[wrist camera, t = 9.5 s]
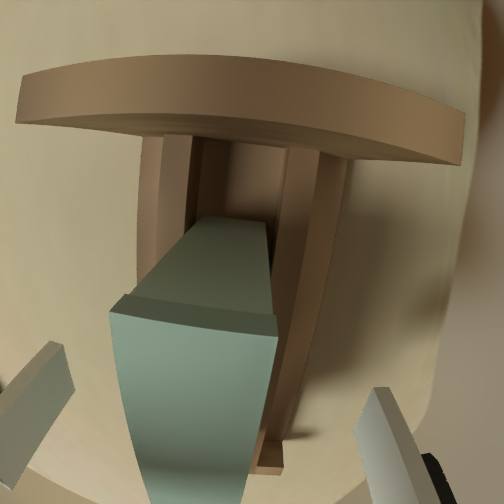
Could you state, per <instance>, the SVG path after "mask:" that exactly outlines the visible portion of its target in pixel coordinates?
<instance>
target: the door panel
mask: <svg viewBox="0 0 504 504" xmlns="http://www.w3.org/2000/svg"><path fill="white" fill-rule="evenodd" d="M109 317H110V326H111V334H112V342H113V349H114V356H115V363H116V369H117V375H118V381H119V386H120V391H121V396H122V401H123V406H124V411H125V415H126V420H127V424H128V428H129V432H130V436H131V440H132V444H133V448H134V451H135V455H136V458H137V462H138V465H139V469H140V472H141V475H142V478H143V481H144V484H145V487H146V490H147V493H148V496H149V499H150V502H151V504H240V503H241V499H242V496H243V492H244V488H245V484H246V480H247V476H248V472H249V468H250V464H251V460H252V456H253V452H254V448H255V443H256V439H257V435H258V431H259V426H260V422H261V417H262V413H263V409H264V404H265V399H266V395H267V390H268V386H269V381H270V376H271V371H272V366H273V362H274V357H275V352H276V347H277V342H278V328H277V318H276V315H273V307H272V294H271V282H270V271H269V259H268V248H267V236H266V225H265V222H258V221H250V220H242V219H234V218H225V217H216V216H207V215H203V216H202V217H201V218H200V219H199V220H198V221H197V222H196V223H195V224H194V225H193V226H192V227H191V228H190V229H189V230H188V231H187V232H186V234H185V235H184V236H183V237H182V238H181V239H180V240H179V241H178V242H177V243H176V244H175V245H174V246H173V247H172V248H171V249H170V250H169V251H168V252H167V253H166V255H165V256H164V257H163V258H162V259H161V260H160V261H159V262H158V263H157V264H156V265H155V266H154V267H153V269H152V270H151V271H150V272H149V273H148V274H147V275H146V276H145V277H144V278H143V279H142V281H141V282H140V283H139V284H138V285H137V286H136V287H135V288H134V289H133V291H132V292H131V293H130V294H124V296H123V297H122V298H121V299H120V300H119V301H118V302H117V303H116V304H115V305H114V307H113V308H112V309H111V310H110V311H109Z"/></svg>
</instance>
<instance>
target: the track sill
mask: <svg viewBox="0 0 504 504" xmlns="http://www.w3.org/2000/svg"><path fill="white" fill-rule="evenodd" d="M15 123H20V124H37V125H51V126H63V127H73V128H83V129H92V130H100V131H108V132H115V133H122V134H129V135H136V136H142V137H143V142H142V152H141V164H140V177H139V192H138V214H137V285H138V284H139V283H140V282H141V281H142V279H143V278H144V277H145V276H146V275H147V274H148V273H149V272H150V271H151V270H152V269H153V267H154V266H155V265H156V264H157V263H158V262H159V261H160V260H161V259H162V258H163V257H164V256H165V255H166V253H167V252H168V251H169V250H170V249H171V248H172V247H173V246H174V245H175V244H176V243H177V242H178V241H179V240H180V239H181V238H182V237H183V236H184V235H185V234H186V232H187V231H188V230H189V229H190V228H191V227H192V226H193V225H194V224H195V223H196V222H197V221H198V220H199V219H200V218H201V217H202V216H203V215H207V216H216V217H225V218H234V219H242V220H250V221H258V222H265V225H266V236H267V248H268V259H269V271H270V282H271V294H272V307H273V315H276V318H277V328H278V342H277V347H276V352H275V357H274V362H273V366H272V371H271V376H270V381H269V386H268V390H267V395H266V399H265V404H264V409H263V413H262V417H261V422H260V426H259V431H258V435H257V439H256V443H255V448H254V452H253V456H252V460H251V464H250V468H249V472H248V474H259V475H281V473H282V471H283V468H284V464H283V447H282V441H283V438H284V435H285V432H286V429H287V426H288V423H289V420H290V417H291V413H292V410H293V407H294V404H295V400H296V397H297V394H298V390H299V387H300V383H301V380H302V376H303V373H304V369H305V366H306V362H307V358H308V355H309V351H310V347H311V343H312V339H313V335H314V331H315V327H316V323H317V319H318V315H319V311H320V307H321V302H322V298H323V294H324V289H325V285H326V280H327V275H328V271H329V266H330V261H331V256H332V251H333V246H334V241H335V236H336V230H337V225H338V219H339V213H340V208H341V202H342V195H343V189H344V183H345V176H346V169H347V162H348V159H364V160H390V161H408V162H423V163H435V164H446V165H456V166H461V158H462V149H463V138H464V124H465V113H463V112H461V111H459V110H457V109H454V108H452V107H450V106H447V105H445V104H442V103H440V102H437V101H435V100H432V99H429V98H427V97H424V96H421V95H419V94H416V93H413V92H410V91H407V90H404V89H401V88H398V87H395V86H392V85H388V84H385V83H382V82H378V81H375V80H371V79H368V78H364V77H360V76H356V75H352V74H348V73H344V72H339V71H335V70H330V69H325V68H320V67H315V66H309V65H304V64H298V63H291V62H285V61H277V60H269V59H261V58H251V57H239V56H223V55H150V56H135V57H124V58H114V59H106V60H98V61H91V62H84V63H78V64H73V65H67V66H62V67H57V68H53V69H48V70H44V71H39V72H35V73H31V74H28V75H24V76H23V77H22V82H21V87H20V93H19V99H18V106H17V113H16V121H15Z"/></svg>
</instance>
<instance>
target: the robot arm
mask: <svg viewBox="0 0 504 504" xmlns="http://www.w3.org/2000/svg"><path fill="white" fill-rule="evenodd" d="M74 391H75V388H74V385H73V381H72V378H71V374H70V370H69V367H68V363H67V359H66V355H65V351H64V346H63V344H59V343H56V342H53V341H49V342H48V343H47V344H46V345H45V346H44V347H43V348H42V349H41V350H40V351H39V352H38V353H37V354H36V355H35V356H34V358H33V359H32V360H31V361H30V362H29V363H28V364H27V365H26V366H25V367H24V368H23V369H22V370H21V371H20V373H19V374H18V375H17V376H16V377H15V378H14V379H13V380H12V381H11V382H10V384H9V385H8V386H7V387H6V388H5V389H4V390H3V391H2V392H0V484H2V485H3V486H5V487H6V488H8V489H10V490H11V491H12V490H13V488H14V487H15V485H16V483H17V481H18V480H19V478H20V476H21V474H22V473H23V471H24V469H25V468H26V466H27V464H28V463H29V461H30V459H31V458H32V456H33V454H34V453H35V451H36V450H37V448H38V446H39V445H40V443H41V442H42V440H43V438H44V437H45V435H46V434H47V432H48V431H49V429H50V427H51V426H52V424H53V423H54V421H55V420H56V418H57V417H58V415H59V414H60V412H61V411H62V409H63V408H64V406H65V405H66V403H67V402H68V400H69V399H70V397H71V396H72V394H73V393H74ZM353 432H354V435H355V439H356V442H357V446H358V449H359V453H360V456H361V460H362V464H363V467H364V471H365V475H366V478H367V482H368V486H369V490H370V493H371V497H372V501H373V504H457V503H456V500H455V498H454V495H453V493H452V491H451V488H450V486H449V484H448V482H447V481H446V477H445V475H444V473H443V470H442V468H441V466H440V464H439V462H438V461H437V459H436V458H435V457H434V456H433V455H432V454H431V453H426V454H421V455H420V452H419V450H418V448H417V445H416V443H415V441H414V439H413V437H412V434H411V432H410V430H409V428H408V426H407V424H406V421H405V419H404V417H403V415H402V413H401V411H400V409H399V407H398V405H397V402H396V400H395V398H394V396H393V394H392V392H391V390H390V388H389V387H374V388H373V389H372V391H371V394H370V396H369V398H368V400H367V402H366V404H365V406H364V408H363V410H362V413H361V415H360V417H359V419H358V421H357V422H356V424H355V426H354V428H353Z"/></svg>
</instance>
